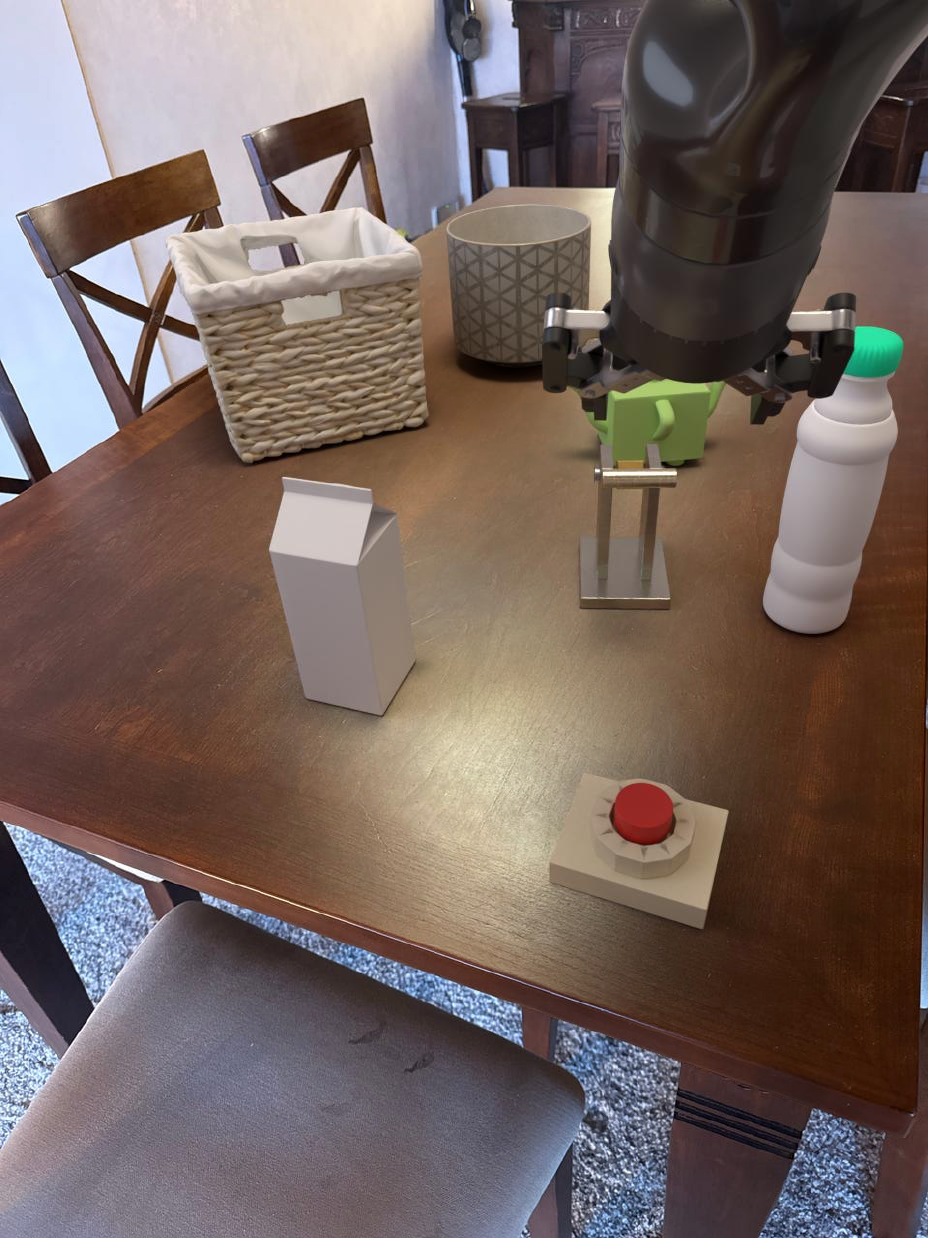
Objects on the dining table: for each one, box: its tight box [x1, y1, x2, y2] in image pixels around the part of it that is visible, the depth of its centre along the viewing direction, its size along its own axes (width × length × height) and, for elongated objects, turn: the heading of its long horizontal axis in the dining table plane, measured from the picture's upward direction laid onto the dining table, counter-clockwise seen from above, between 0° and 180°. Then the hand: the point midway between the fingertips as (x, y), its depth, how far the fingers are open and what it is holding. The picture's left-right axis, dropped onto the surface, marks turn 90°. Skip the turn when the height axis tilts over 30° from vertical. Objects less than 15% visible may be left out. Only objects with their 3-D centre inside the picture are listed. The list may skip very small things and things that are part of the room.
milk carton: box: [268, 476, 417, 716], centre depth 67 cm, size 7×7×19 cm
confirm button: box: [614, 783, 673, 845], centre depth 55 cm, size 4×4×2 cm
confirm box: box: [548, 772, 730, 930], centre depth 57 cm, size 10×8×4 cm
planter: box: [445, 203, 592, 369], centre depth 119 cm, size 19×19×18 cm
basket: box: [165, 206, 430, 464], centre depth 109 cm, size 27×27×22 cm
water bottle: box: [762, 325, 904, 635], centre depth 69 cm, size 7×7×25 cm
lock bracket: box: [578, 444, 672, 610], centre depth 78 cm, size 10×8×13 cm
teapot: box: [567, 379, 728, 467], centre depth 97 cm, size 15×13×11 cm
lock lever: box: [602, 460, 678, 490], centre depth 71 cm, size 12×6×2 cm, turn 175°
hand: (677, 406), depth 49 cm, fingers open, 8 cm apart
